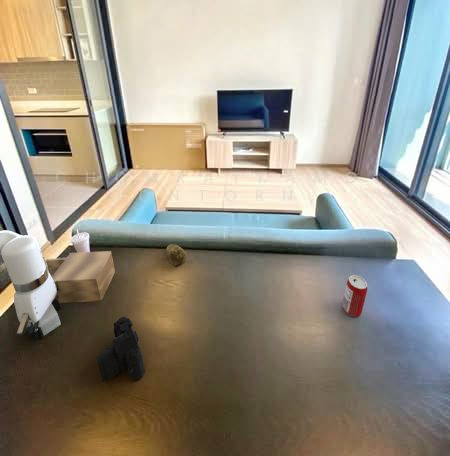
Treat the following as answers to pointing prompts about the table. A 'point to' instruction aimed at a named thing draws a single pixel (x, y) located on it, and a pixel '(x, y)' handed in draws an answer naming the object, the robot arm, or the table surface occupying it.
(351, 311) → the soda can
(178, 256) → the potato
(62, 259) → the drawer
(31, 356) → the table surface
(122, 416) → the table surface
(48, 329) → the small box
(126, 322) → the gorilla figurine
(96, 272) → the brown wooden box
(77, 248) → the smoothie
